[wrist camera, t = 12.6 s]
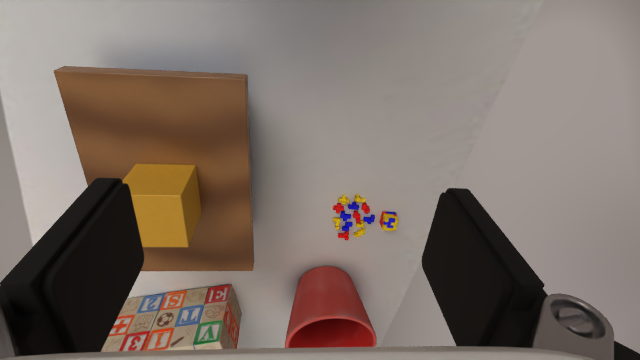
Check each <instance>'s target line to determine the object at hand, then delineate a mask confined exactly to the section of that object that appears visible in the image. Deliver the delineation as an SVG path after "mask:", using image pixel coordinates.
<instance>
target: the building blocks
mask: <svg viewBox="0 0 640 360" xmlns="http://www.w3.org/2000/svg"><path fill="white" fill-rule="evenodd" d="M338 202H341V203H342V204H343V205H346V203H349V199H348V198H346V195H343V197H342V198H339V199H338ZM356 202H363V204H362V210H364V213H367V214H368V213H369V211H370V209H369V206H367V204H366V203H365V198H360V196H359V195H358V194H356V195H355V202H352V205H350V204H349V205H348V209H355V210H358V209H359V205H357V204H356ZM341 203H337V206H334V207H333V210H336V213H340V211H341V215H340V217H341V218H343V221H347V219H350V218H351V214H345V211H343V210H344V206H341ZM353 218H356V227H364V225H365V224H364V222H367V223H368V224H371V222H374V219H375V216H374V215H371V217H364V219H363V220H360V214H358V211H354V214H353ZM398 221H399V220H398V218H397V215H396V213H394V212H382V216H381V219H380V225H381V227H382V230H388V231H395V230H396V227H397V224H398ZM333 222H336V224H335V228H336V230H339V224H340V218H335V217H334V218H333ZM352 225H353V224H352V222H346V223H345V226H342V231H345V234H344V233H338V238H345V240H348V239H349V237H348V235H349V232H348V231H349V227H352ZM365 230H366V229H365V228H362V229H361V230H358V232H354V237H361V235H364V234H365Z"/></svg>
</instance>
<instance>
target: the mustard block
mask: <svg viewBox="0 0 640 360" xmlns="http://www.w3.org/2000/svg"><path fill="white" fill-rule="evenodd" d="M122 182H123V183H127V184H128V185H129V188H130V192H131V197H132V201H133V206H134V210H135V215H136V219H137V224H138V228H139V233H140V237H141V242H142V246H143V247H189V245H190V242H191V239H192V236H193V234H194V231H195V228H196V226H197V223H198V220H199V218H200V215H201V212H202V211H201V203H200V195H199V187H198V178H197V170H196V165H169V164H136V165H135V166H134V167H133V168H132V169H131V171H130V172H129V173H128V174H127V176H126V177H125V178H124V179H123V181H122Z"/></svg>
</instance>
